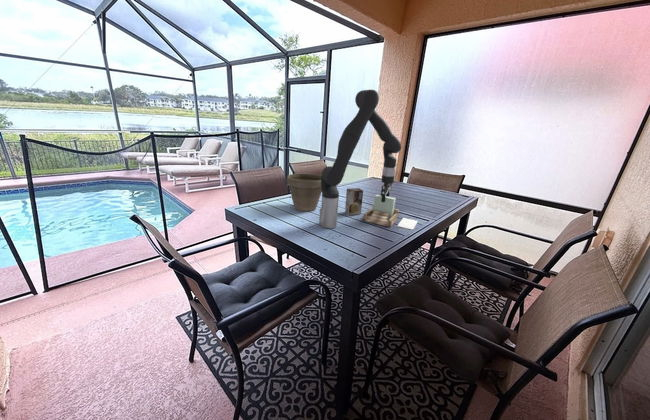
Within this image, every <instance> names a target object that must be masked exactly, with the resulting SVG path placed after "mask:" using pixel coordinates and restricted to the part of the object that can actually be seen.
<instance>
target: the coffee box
mask: <svg viewBox="0 0 650 420" xmlns="http://www.w3.org/2000/svg"><path fill="white" fill-rule="evenodd" d="M363 195H364V190H363V189H362V188H360V187H354V188H346V195H345V207H344V212H345V213H346V214H347V215H348V216H353V215H354V216H355V215H361V214H362V207H363V197H364V196H363Z"/></svg>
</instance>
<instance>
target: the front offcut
mask: <svg viewBox="0 0 650 420" xmlns="http://www.w3.org/2000/svg"><path fill="white" fill-rule="evenodd" d="M371 217H374V218H379V219H383V220H387V217H385V216H381V215H377V214H372V215H371Z"/></svg>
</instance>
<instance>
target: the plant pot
mask: <svg viewBox="0 0 650 420" xmlns="http://www.w3.org/2000/svg"><path fill="white" fill-rule="evenodd" d="M321 175H322V174H321ZM321 175H320V174H316V173H304V172H303V173H291V174H288V175H287V177H286V181H287V182H286V183H287V185H288V187H289V191H290V195H291V199H292V203H293V204H292V205H293V207H294V209H295V210H297V211H299V212H313V211H315V210H316V209H317V207H318V205H319V201H320V198H321V197H322V191H321Z"/></svg>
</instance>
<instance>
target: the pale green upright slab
mask: <svg viewBox="0 0 650 420" xmlns="http://www.w3.org/2000/svg"><path fill="white" fill-rule="evenodd" d="M381 199H382V196H381V194H376V195H374V201H373V204H374V208H373V212H374V211H380V212H384V213H389V218H388V221H389V219H390V218H391V217H392V216H393V213H394V209H395V206H396V199H397V198H396V197H394V196H393V197H392V196H389V197H388V196H386V198H385V202H381Z"/></svg>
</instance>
